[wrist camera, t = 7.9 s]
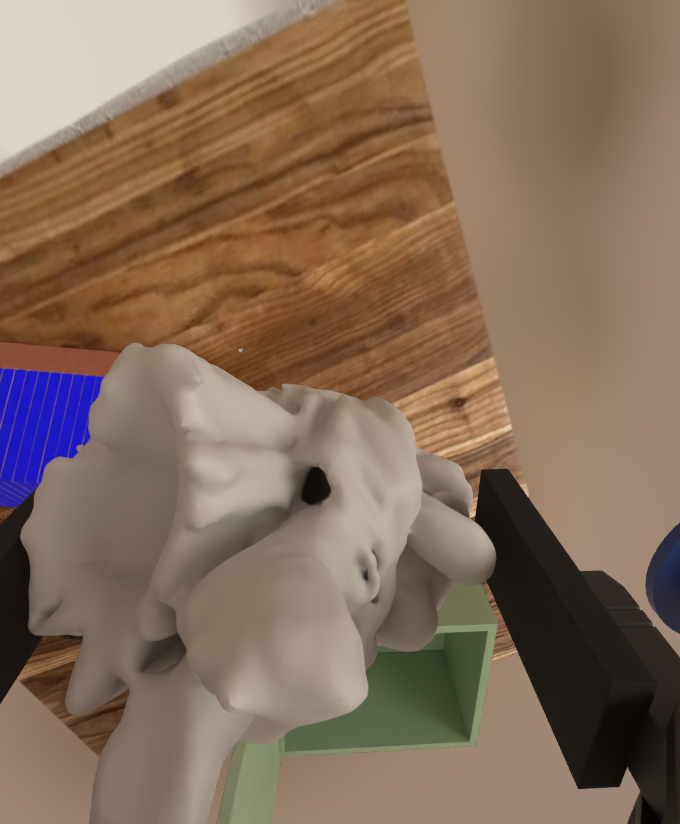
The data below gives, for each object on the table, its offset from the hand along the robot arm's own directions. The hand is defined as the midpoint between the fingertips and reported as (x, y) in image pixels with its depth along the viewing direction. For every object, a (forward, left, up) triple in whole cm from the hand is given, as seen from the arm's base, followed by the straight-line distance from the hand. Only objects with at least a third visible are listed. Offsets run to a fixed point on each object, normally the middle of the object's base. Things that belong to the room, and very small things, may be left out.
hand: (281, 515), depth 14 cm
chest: (-6, +33, -29) cm, 44 cm away
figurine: (+3, 0, -1) cm, 3 cm away
